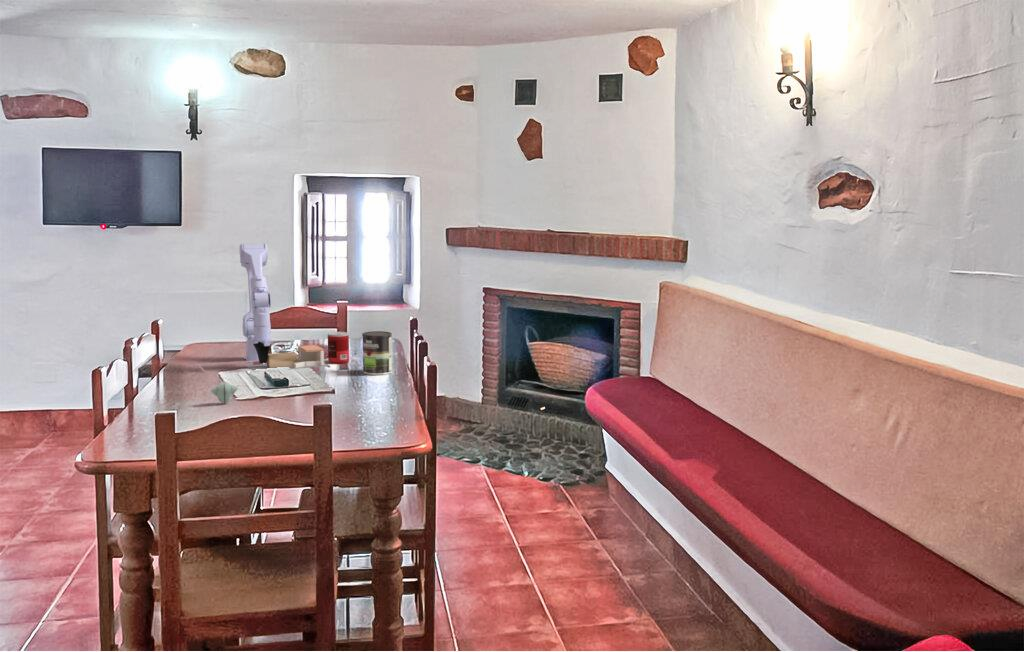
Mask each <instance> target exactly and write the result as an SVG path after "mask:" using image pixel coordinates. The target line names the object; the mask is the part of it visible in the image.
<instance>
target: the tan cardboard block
mask: <svg viewBox="0 0 1024 652" xmlns="http://www.w3.org/2000/svg"><path fill="white" fill-rule="evenodd" d="M297 359H298V353H296V352H295V351H286V352H277V353H276V352H275V353H268V358H267V362H266V364H267V367H268V368H277V367H289V366H294V363H297Z"/></svg>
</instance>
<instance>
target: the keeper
mask: <svg viewBox="0 0 1024 652" xmlns="http://www.w3.org/2000/svg"><path fill="white" fill-rule="evenodd" d="M298 349H299V350H298V351H299V354H298V355H299V358H297V363H294V366H289V368H290V369H289V370H296V369H297V370H298V369H306V368H307V369H308V368H320V367H327V368H330V367H331V365H330V364H328V363H326V362H325V348H323V347H321V346H319V345H317V344H310V345H309V344H307V345H298ZM245 366H246V368H249V369H250V370H251V371H253V370H256V369H267V368H268V367H267V363H262V364H261V363H259V364H248V365H245Z"/></svg>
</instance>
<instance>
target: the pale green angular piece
mask: <svg viewBox="0 0 1024 652" xmlns="http://www.w3.org/2000/svg"><path fill="white" fill-rule="evenodd" d="M238 389H239V388H238V386H237V385H232V384H231V383H230V382H227V381H220V383H219V384H217V385H216V386H214V387H212V388H211V389H210V391H211V393H212V394H213V395H214V396H215V397H217V399H218V401H219V402H220V403H221V404H224V405H226V404H227V403H229V402H230V401H231V399H232V397H233V395H234V394H236V392H237V391H238Z"/></svg>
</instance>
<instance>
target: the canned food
mask: <svg viewBox="0 0 1024 652" xmlns="http://www.w3.org/2000/svg"><path fill="white" fill-rule="evenodd" d="M327 358H328V360H327V361H328V363H329V364H332V365H342V364H347V363H349V362H350V337H349V332H346V331H333V332H331V331H330V332H328V333H327Z"/></svg>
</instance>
